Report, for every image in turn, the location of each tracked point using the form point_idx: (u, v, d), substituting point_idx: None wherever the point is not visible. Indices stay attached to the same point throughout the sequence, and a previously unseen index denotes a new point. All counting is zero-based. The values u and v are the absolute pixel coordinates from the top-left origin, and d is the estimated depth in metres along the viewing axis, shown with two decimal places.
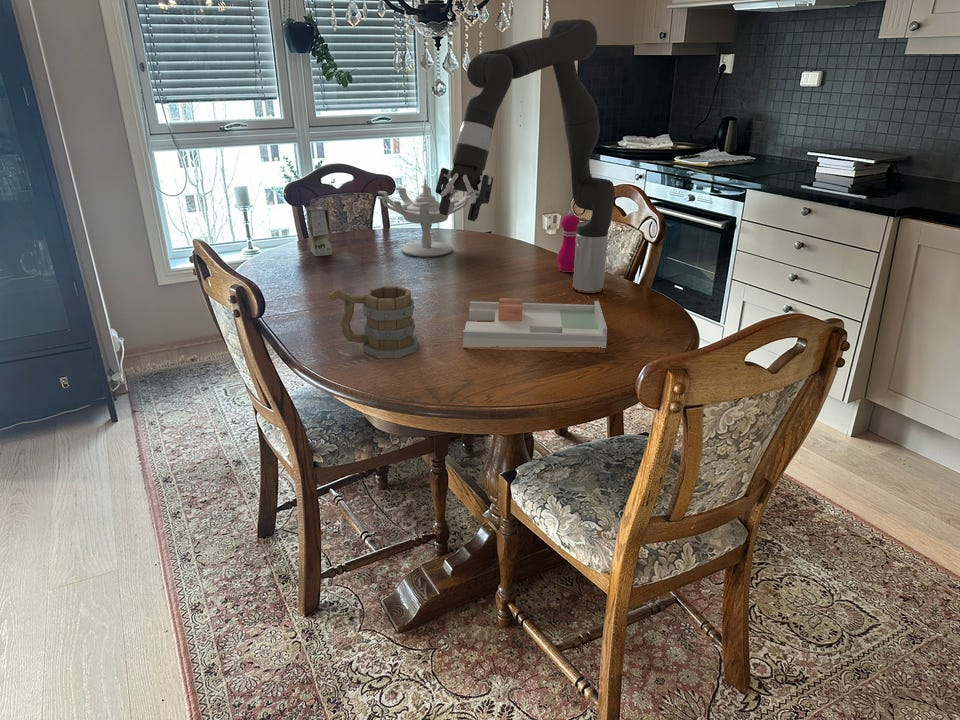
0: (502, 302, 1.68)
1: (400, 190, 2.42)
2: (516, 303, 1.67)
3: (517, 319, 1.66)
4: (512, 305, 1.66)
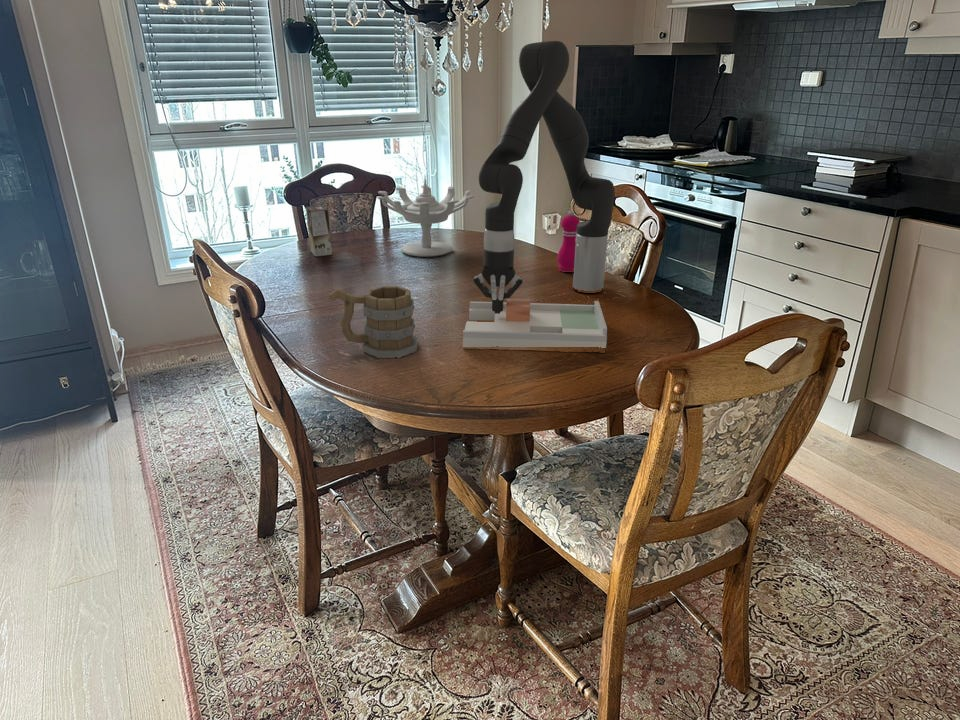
0: (510, 302, 1.68)
1: (400, 190, 2.42)
2: (523, 303, 1.67)
3: (525, 320, 1.66)
4: (519, 305, 1.65)
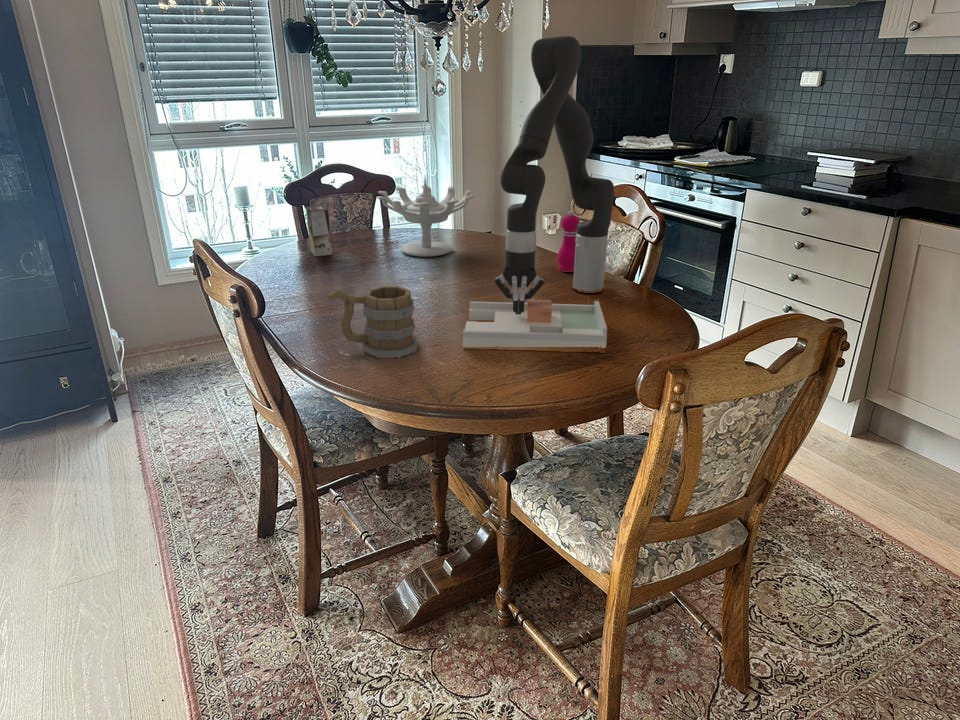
0: (531, 303, 1.67)
1: (400, 190, 2.42)
2: (545, 304, 1.66)
3: (546, 320, 1.66)
4: (541, 306, 1.65)
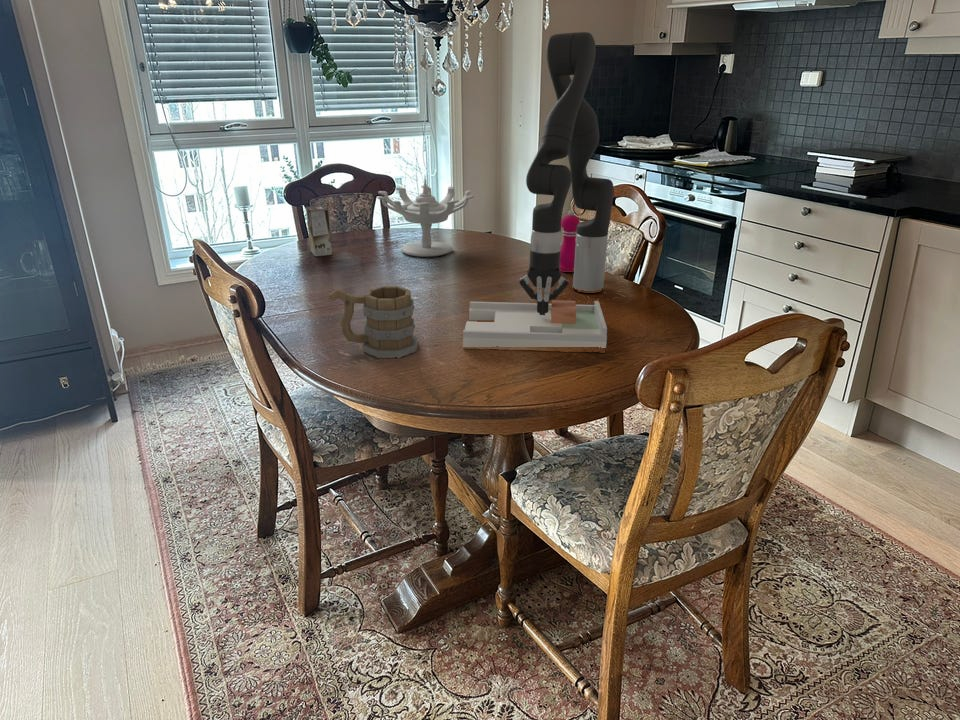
0: (555, 304, 1.67)
1: (400, 190, 2.42)
2: (569, 305, 1.66)
3: (571, 321, 1.65)
4: (566, 307, 1.64)
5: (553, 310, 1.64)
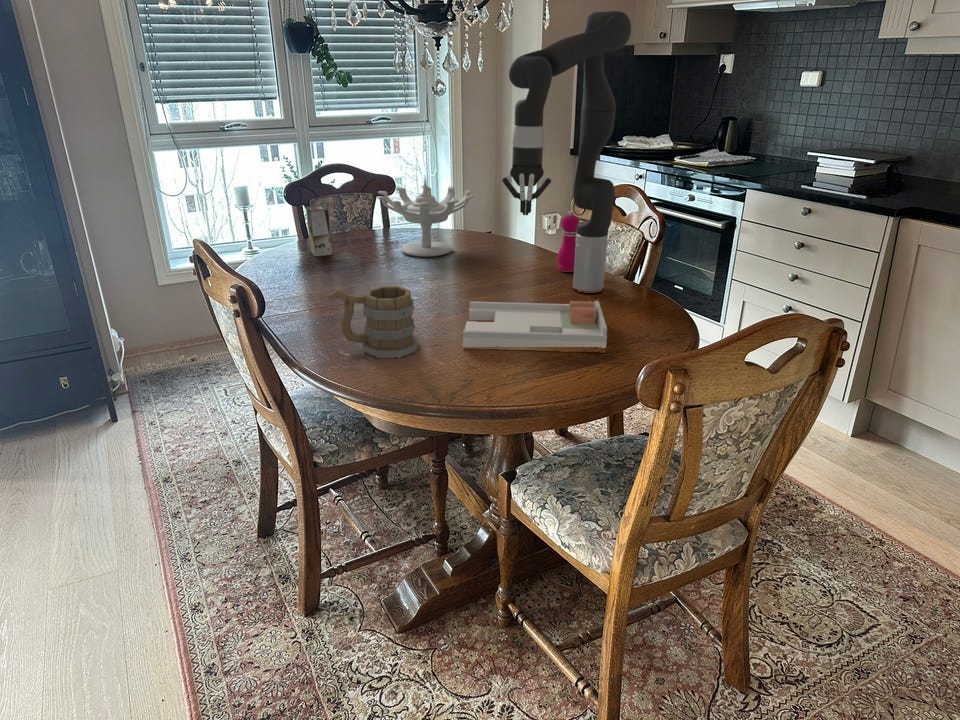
0: (574, 305, 1.66)
1: (400, 190, 2.42)
2: (588, 306, 1.65)
3: (589, 322, 1.65)
4: (585, 308, 1.64)
5: (572, 311, 1.64)
